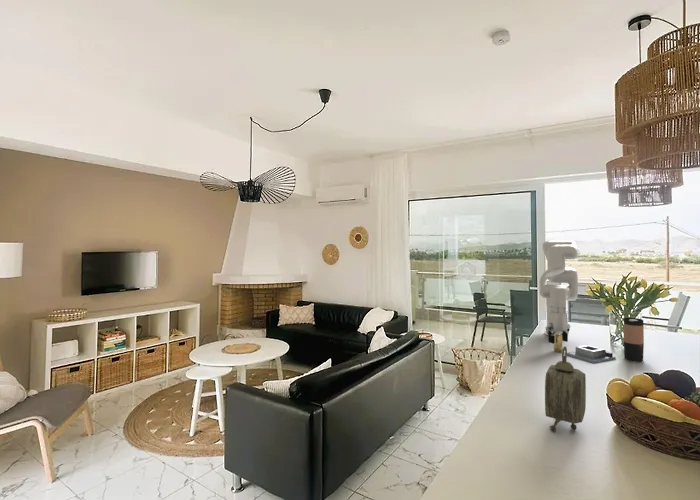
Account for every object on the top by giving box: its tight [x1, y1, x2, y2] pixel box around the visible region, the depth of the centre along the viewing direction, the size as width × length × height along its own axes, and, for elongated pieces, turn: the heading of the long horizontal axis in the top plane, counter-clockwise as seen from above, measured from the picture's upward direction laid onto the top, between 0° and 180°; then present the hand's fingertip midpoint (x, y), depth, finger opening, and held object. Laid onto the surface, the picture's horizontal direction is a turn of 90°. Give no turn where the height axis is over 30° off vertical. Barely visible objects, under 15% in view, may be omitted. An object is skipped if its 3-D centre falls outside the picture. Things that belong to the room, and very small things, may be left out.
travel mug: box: [623, 317, 645, 363], centre depth 171 cm, size 8×8×20 cm
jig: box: [567, 344, 617, 364], centre depth 176 cm, size 16×14×4 cm
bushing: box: [553, 334, 564, 354], centre depth 186 cm, size 4×4×9 cm
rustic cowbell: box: [544, 346, 587, 432], centre depth 108 cm, size 14×9×25 cm, turn 141°
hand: (558, 342), depth 185 cm, fingers open, 9 cm apart
